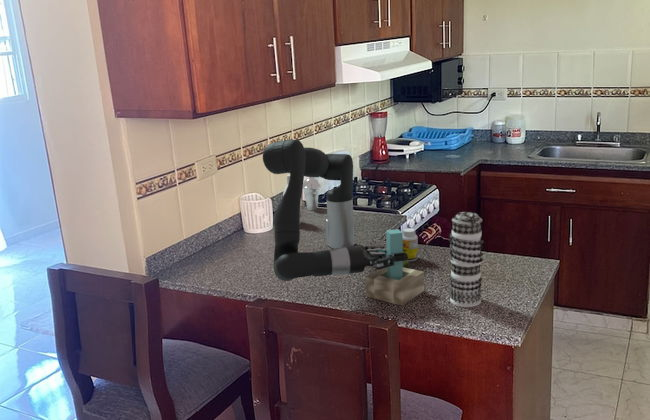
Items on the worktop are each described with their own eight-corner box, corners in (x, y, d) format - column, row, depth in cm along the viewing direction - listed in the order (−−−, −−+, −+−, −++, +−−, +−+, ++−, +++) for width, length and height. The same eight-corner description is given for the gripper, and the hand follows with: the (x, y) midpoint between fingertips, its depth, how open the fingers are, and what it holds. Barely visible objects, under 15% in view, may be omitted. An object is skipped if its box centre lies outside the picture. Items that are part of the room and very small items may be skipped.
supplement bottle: (398, 257, 207) (397, 228, 204) (413, 255, 208) (413, 226, 205) (405, 263, 201) (404, 233, 199) (420, 260, 203) (420, 231, 200)
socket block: (366, 296, 177) (365, 276, 175) (388, 282, 186) (388, 264, 184) (402, 305, 170) (402, 285, 168) (423, 291, 179) (423, 271, 177)
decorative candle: (443, 296, 174) (443, 211, 168) (473, 292, 176) (474, 208, 169) (456, 309, 166) (457, 220, 159) (488, 305, 168) (490, 216, 161)
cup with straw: (325, 206, 274) (322, 162, 269) (316, 212, 266) (314, 166, 261) (307, 205, 277) (305, 161, 272) (298, 210, 269) (296, 165, 264)
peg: (390, 287, 175) (390, 234, 171) (386, 283, 178) (386, 230, 174) (402, 286, 176) (402, 232, 171) (398, 281, 179) (398, 229, 175)
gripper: (351, 256, 164) (412, 249, 167) (339, 240, 177) (396, 234, 181) (352, 282, 166) (412, 274, 169) (340, 264, 179) (396, 258, 183)
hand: (403, 253), depth 175 cm, fingers closed on peg, 3 cm apart
